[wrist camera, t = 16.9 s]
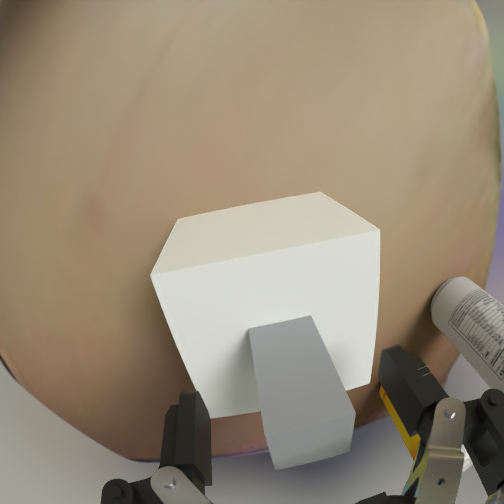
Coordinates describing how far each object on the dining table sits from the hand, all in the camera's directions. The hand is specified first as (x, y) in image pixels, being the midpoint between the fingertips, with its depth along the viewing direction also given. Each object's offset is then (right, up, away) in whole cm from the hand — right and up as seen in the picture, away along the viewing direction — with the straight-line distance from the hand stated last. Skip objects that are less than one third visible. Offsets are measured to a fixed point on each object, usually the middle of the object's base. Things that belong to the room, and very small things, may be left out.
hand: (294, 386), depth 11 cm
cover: (-1, +4, +11) cm, 12 cm away
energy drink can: (+19, +1, +15) cm, 24 cm away
